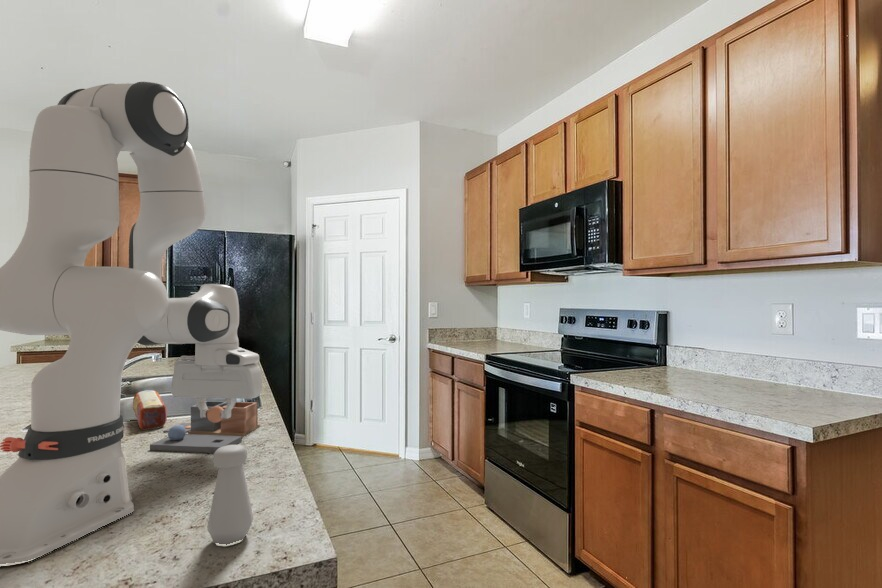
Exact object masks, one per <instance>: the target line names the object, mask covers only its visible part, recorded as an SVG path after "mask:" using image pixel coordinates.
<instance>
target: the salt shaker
mask: <svg viewBox="0 0 882 588" xmlns="http://www.w3.org/2000/svg"><path fill="white" fill-rule="evenodd" d="M212 457H213V458H212V460H213V462H212V463H213V465H214V467H215V468H218V470H217V475H216V480H215V486H214V491H213V496H212V500H211V501H212V502H211V506H210V510H209V517H208V521H207V522H208V523H207V525H206V526H207V532H208V533H209V535H210V536H211V540H212V542H213V544H214V543H219V544H226V545H227V544H230V543H233V542H236V541H239V540H242V539H243V538H244V537H245V536H246V534H247V535H248V534H249V530H250V528H251V526H252V523H253V520H254V515H253V510H252V505H251V500H250V495H249V491H248V490H249V489H248V485H247V480H246V476H245V469H244V466H243V465H244V464H245V463H246V461H247V459H248V451H247V448H246V447H244V446H243V444H236V445H227V446H223V447H221V448H218V449H217V450H216V451H215V453H213V456H212ZM246 537H247V536H246ZM246 537H245V538H246ZM245 538H244V539H245Z"/></svg>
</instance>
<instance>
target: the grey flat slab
mask: <svg viewBox="0 0 882 588" xmlns="http://www.w3.org/2000/svg"><path fill="white" fill-rule="evenodd" d="M242 441H243V436H224V435H198V434H188V433H186V434H185V436H184V438H183V439H181V440H179V441H172V440H170V439H169V437H168V436H166V437H164V438H162V439H160V440H157V441H155V442H153V443H150V444H149V451H165V452H187V453H188V452H189V453H213V454H214V453H215V451H216V450H217V449H218V448H221V447H223V446H227V445H239V443H242Z"/></svg>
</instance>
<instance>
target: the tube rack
mask: <svg viewBox="0 0 882 588" xmlns="http://www.w3.org/2000/svg"><path fill="white" fill-rule="evenodd" d="M205 403H206V405H207V408H208V409H210V408H212V407H214V406H220V407H222V408H223V409H224V410H225V408H226V406H227V404H228V403H225V401H220V400H218V401H216V400H207V401H205ZM258 409H259V408H258V401H256V402H254V401H253V402H252V401H250V402H249V401H236V403H235V405H234V407H233V408H232V409H231V417H230V418H228V419H222V420H221V421H219V422H216V423H213V422H211V421H209V420H208V418H200V410H199V408H198V406H197V404H194V405H191V406H190V423H191V431H189V432H187V434H198V435H224V436H242V437H244V436H247V435H248V434H250V433H252V432H253V431H255V430H257V429H259V428H260V426H261V425H260V424H258V422H259V419H258V417H259V416H258V415H259V414H258V413H259V411H258ZM258 427H259V428H258ZM251 431H252V432H251Z"/></svg>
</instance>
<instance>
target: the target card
mask: <svg viewBox="0 0 882 588" xmlns="http://www.w3.org/2000/svg"><path fill="white" fill-rule="evenodd" d="M178 425H182V426H183V427H184V428H185V429H186V434H188V432H189V431H191V422H182V423H179V424H178ZM170 428H171V427H169V428H167V429H164V430H163V432H164V433H168V431H169V429H170Z"/></svg>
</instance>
